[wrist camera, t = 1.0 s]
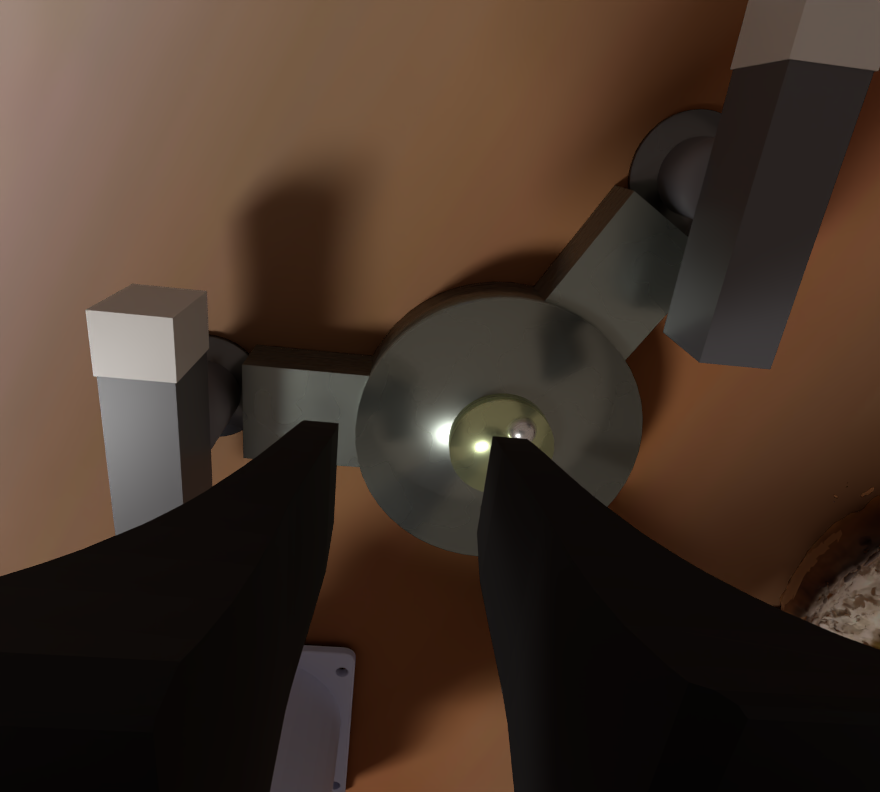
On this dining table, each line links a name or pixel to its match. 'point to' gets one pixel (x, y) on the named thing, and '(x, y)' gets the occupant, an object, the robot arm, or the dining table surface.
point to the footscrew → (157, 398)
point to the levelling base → (492, 367)
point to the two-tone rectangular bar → (766, 174)
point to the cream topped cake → (842, 578)
